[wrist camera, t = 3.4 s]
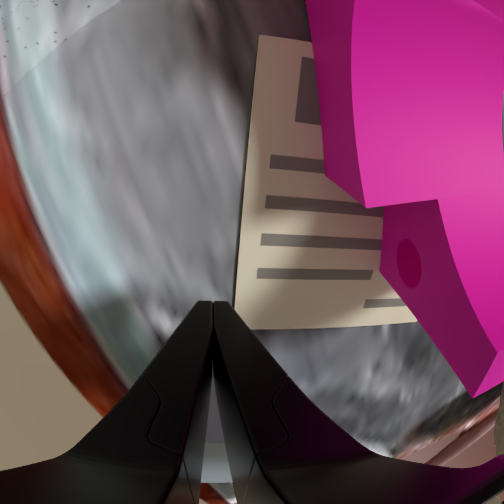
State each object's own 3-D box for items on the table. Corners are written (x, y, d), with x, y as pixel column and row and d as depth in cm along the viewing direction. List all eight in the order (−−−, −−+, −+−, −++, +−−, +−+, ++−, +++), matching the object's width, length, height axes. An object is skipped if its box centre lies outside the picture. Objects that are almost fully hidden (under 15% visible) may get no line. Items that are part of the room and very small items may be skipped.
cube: (251, 410, 18) (261, 481, 13) (169, 408, 17) (165, 480, 12) (260, 355, 15) (275, 440, 11) (160, 353, 15) (149, 439, 10)
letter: (415, 320, 15) (416, 321, 15) (232, 328, 14) (233, 329, 14) (477, 99, 10) (479, 99, 10) (259, 35, 9) (259, 34, 8)
